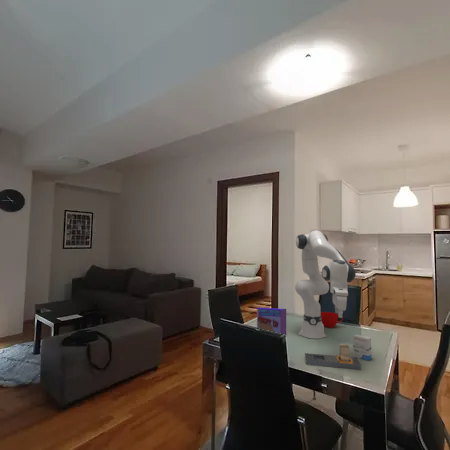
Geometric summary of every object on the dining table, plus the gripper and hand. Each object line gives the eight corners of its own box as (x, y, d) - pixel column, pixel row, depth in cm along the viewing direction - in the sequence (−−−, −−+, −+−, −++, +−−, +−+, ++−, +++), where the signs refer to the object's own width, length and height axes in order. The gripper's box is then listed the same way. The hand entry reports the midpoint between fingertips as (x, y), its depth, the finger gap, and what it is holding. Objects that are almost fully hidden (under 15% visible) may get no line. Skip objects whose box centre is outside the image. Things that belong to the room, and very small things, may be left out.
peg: (339, 362, 159) (339, 343, 159) (347, 363, 158) (347, 344, 159) (341, 365, 155) (340, 346, 155) (349, 366, 154) (348, 346, 155)
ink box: (372, 358, 165) (371, 337, 166) (368, 361, 162) (368, 339, 163) (356, 354, 171) (356, 333, 172) (352, 356, 168) (352, 335, 169)
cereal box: (256, 349, 177) (257, 308, 179) (257, 346, 182) (257, 307, 184) (286, 351, 175) (286, 310, 177) (285, 348, 180) (285, 308, 182)
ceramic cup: (345, 329, 223) (345, 316, 223) (321, 328, 225) (321, 315, 226) (341, 325, 235) (341, 312, 236) (319, 324, 238) (319, 311, 239)
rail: (304, 357, 165) (304, 352, 165) (356, 362, 160) (356, 356, 160) (306, 364, 155) (306, 359, 155) (360, 369, 150) (360, 364, 150)
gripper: (329, 286, 173) (329, 310, 173) (336, 292, 153) (335, 319, 153) (341, 287, 172) (341, 311, 171) (348, 293, 152) (348, 320, 151)
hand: (338, 315), depth 162 cm, fingers open, 8 cm apart
